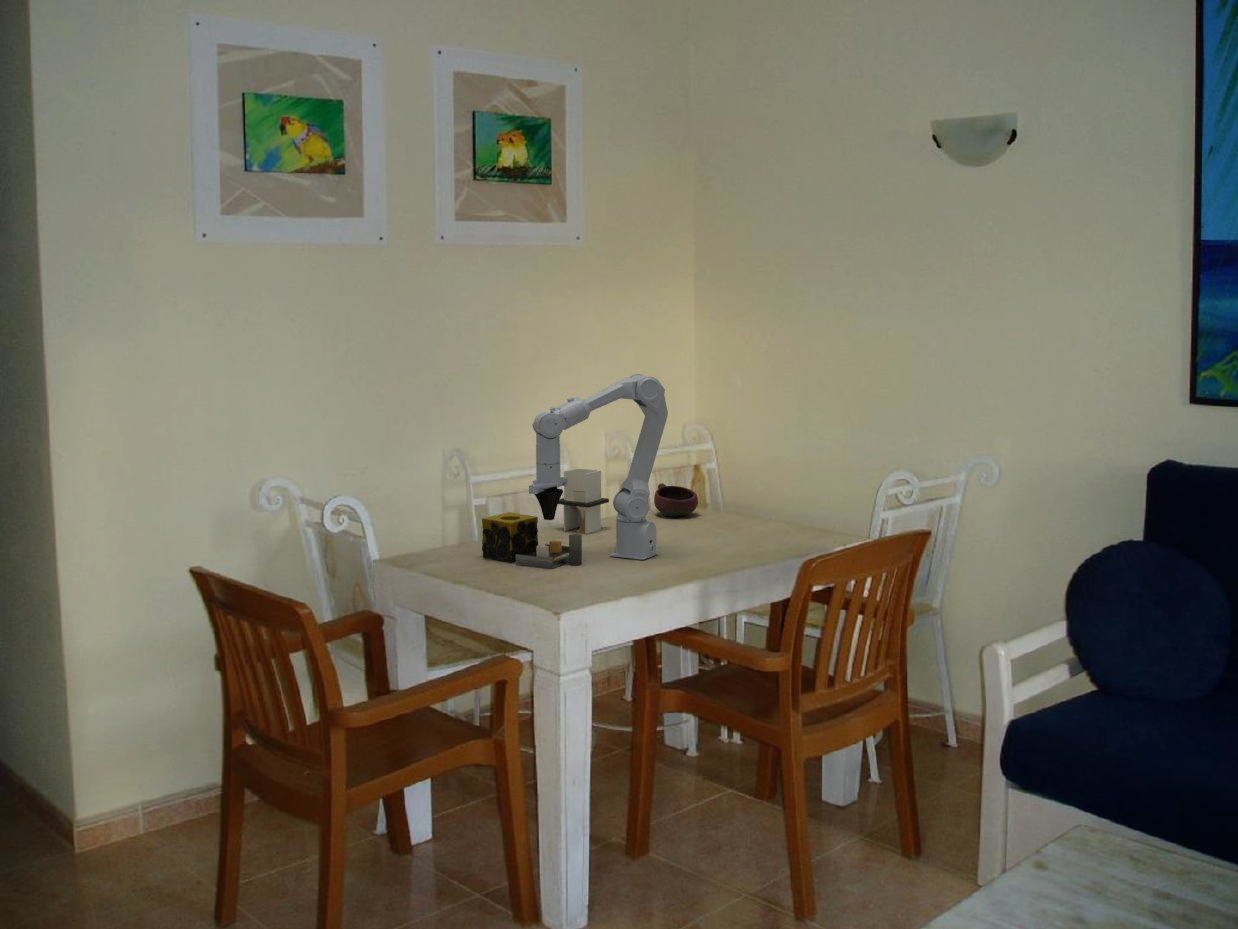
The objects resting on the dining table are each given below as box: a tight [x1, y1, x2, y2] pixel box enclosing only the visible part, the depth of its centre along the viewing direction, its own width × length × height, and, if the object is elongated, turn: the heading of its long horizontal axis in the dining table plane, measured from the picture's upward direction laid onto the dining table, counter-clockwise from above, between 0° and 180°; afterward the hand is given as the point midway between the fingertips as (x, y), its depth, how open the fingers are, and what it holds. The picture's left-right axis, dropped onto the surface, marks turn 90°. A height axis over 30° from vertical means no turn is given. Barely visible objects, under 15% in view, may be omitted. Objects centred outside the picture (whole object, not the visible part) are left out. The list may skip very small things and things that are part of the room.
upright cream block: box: [536, 544, 549, 557], centre depth 304 cm, size 2×2×2 cm
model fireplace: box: [558, 468, 610, 535], centre depth 344 cm, size 25×24×16 cm
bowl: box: [653, 483, 699, 517], centre depth 367 cm, size 16×13×8 cm
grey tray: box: [515, 543, 569, 570], centre depth 307 cm, size 10×14×2 cm
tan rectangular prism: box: [549, 540, 563, 553], centre depth 309 cm, size 2×2×2 cm
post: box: [568, 533, 583, 567], centre depth 303 cm, size 3×3×7 cm
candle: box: [481, 511, 539, 564], centre depth 311 cm, size 10×10×10 cm
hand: (548, 519), depth 306 cm, fingers closed
